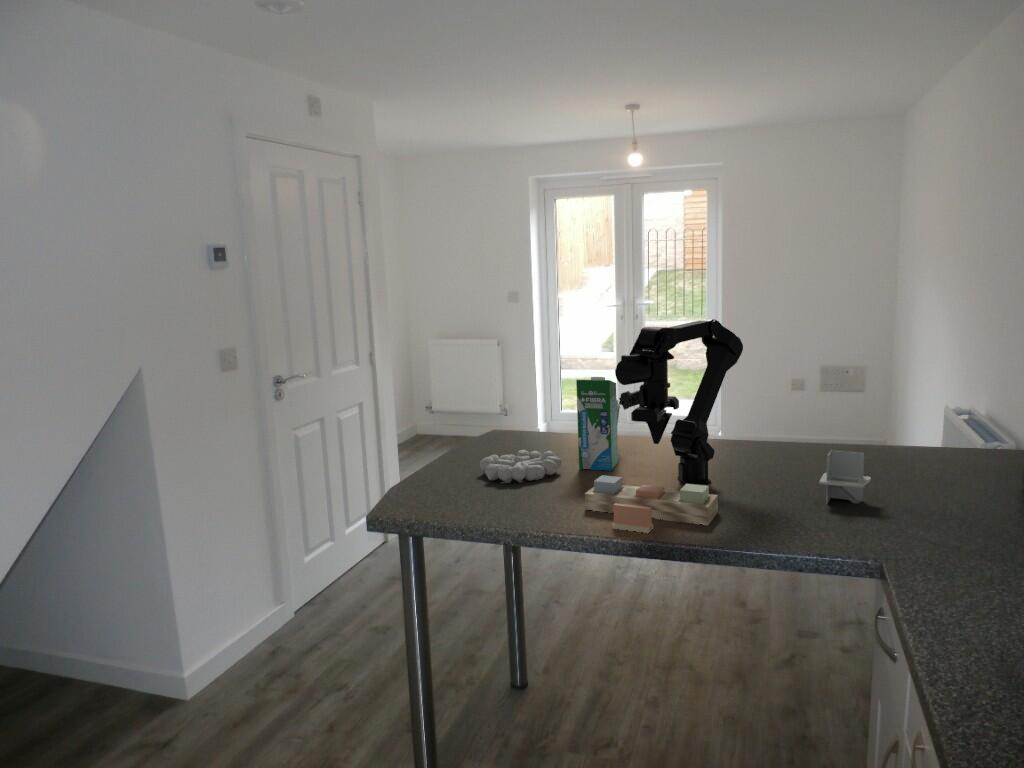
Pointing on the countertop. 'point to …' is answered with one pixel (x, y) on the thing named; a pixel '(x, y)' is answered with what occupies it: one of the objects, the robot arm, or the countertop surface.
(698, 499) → the sage button
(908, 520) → the countertop surface
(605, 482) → the slate button
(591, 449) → the milk carton
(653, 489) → the terracotta button
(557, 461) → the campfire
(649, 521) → the terracotta sign
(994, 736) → the countertop surface
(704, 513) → the button panel
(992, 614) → the countertop surface
